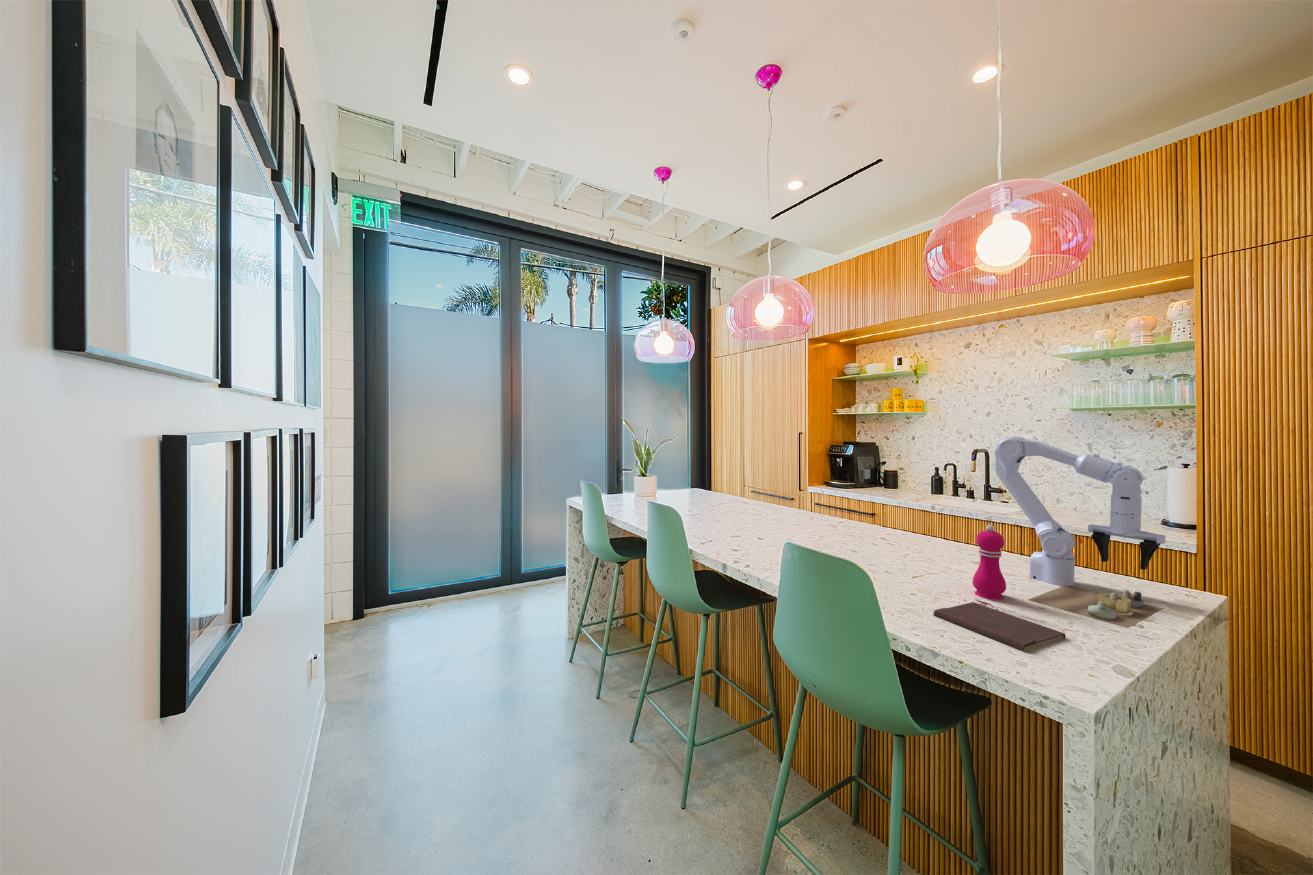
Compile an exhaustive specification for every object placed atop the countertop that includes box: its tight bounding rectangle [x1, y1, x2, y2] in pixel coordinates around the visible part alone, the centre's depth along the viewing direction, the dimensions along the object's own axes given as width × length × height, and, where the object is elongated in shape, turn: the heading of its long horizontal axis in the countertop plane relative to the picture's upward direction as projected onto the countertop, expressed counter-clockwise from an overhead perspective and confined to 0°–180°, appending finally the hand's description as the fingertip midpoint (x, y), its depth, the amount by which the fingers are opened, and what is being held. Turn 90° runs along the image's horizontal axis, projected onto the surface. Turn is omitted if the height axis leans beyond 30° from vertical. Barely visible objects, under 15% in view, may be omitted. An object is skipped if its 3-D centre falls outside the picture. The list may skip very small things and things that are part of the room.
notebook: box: [933, 601, 1066, 653], centre depth 110 cm, size 15×20×2 cm
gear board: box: [1027, 585, 1164, 629], centre depth 119 cm, size 19×22×6 cm
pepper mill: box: [972, 524, 1007, 606], centre depth 125 cm, size 7×7×20 cm
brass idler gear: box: [1097, 592, 1131, 614], centre depth 115 cm, size 5×5×3 cm
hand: (1123, 564), depth 125 cm, fingers open, 7 cm apart
